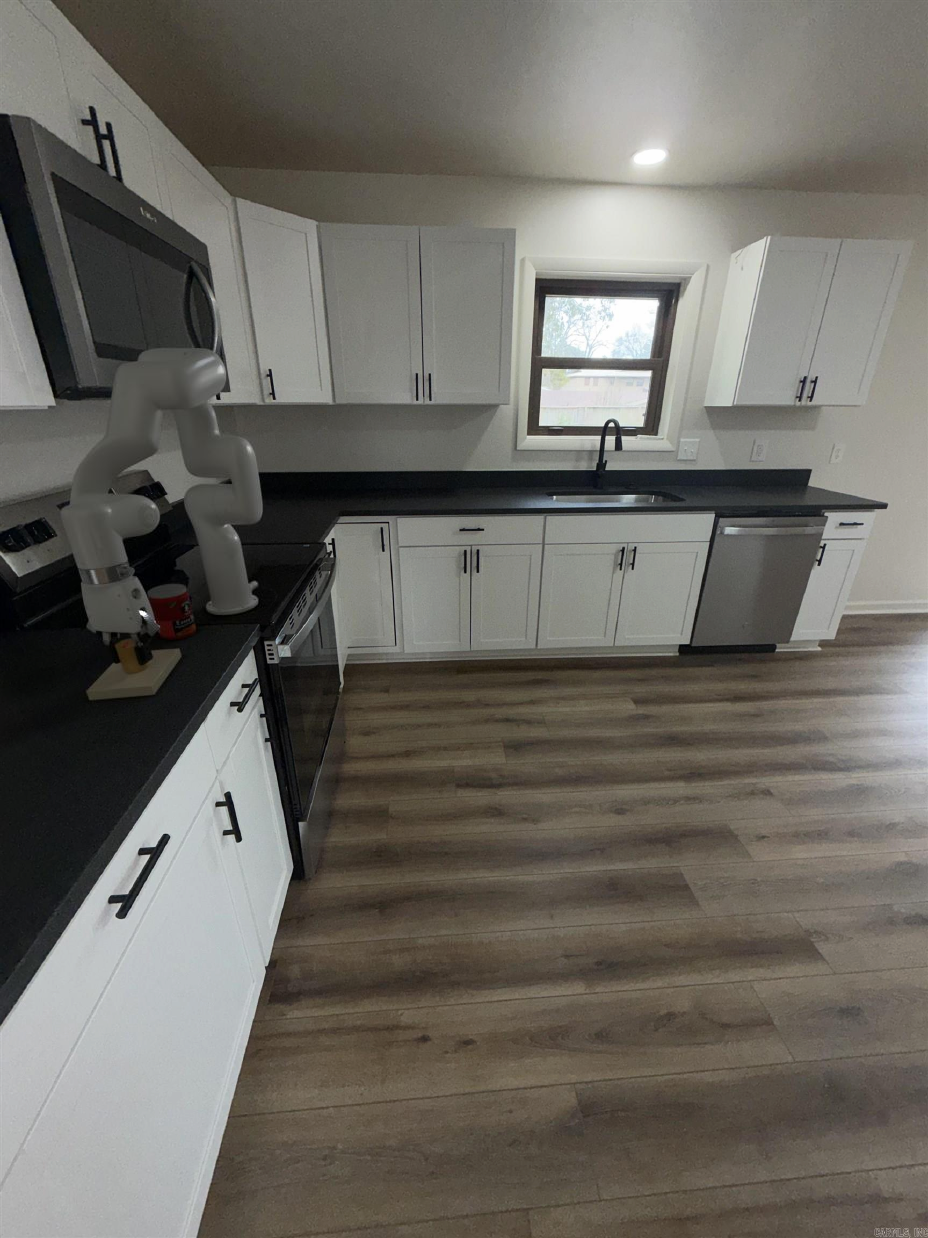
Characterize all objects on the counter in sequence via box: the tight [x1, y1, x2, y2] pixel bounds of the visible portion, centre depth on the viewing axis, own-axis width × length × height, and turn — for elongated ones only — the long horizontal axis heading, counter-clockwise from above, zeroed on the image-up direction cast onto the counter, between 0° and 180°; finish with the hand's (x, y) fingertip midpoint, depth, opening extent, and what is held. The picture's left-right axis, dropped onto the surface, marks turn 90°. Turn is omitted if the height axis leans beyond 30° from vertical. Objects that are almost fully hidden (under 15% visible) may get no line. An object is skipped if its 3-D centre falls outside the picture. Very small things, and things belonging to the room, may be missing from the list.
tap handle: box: [115, 637, 149, 674], centre depth 96 cm, size 4×4×6 cm
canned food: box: [147, 583, 197, 641], centre depth 114 cm, size 8×8×11 cm
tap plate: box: [85, 648, 182, 701], centre depth 98 cm, size 15×11×2 cm
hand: (133, 660), depth 97 cm, fingers closed on tap handle, 4 cm apart
